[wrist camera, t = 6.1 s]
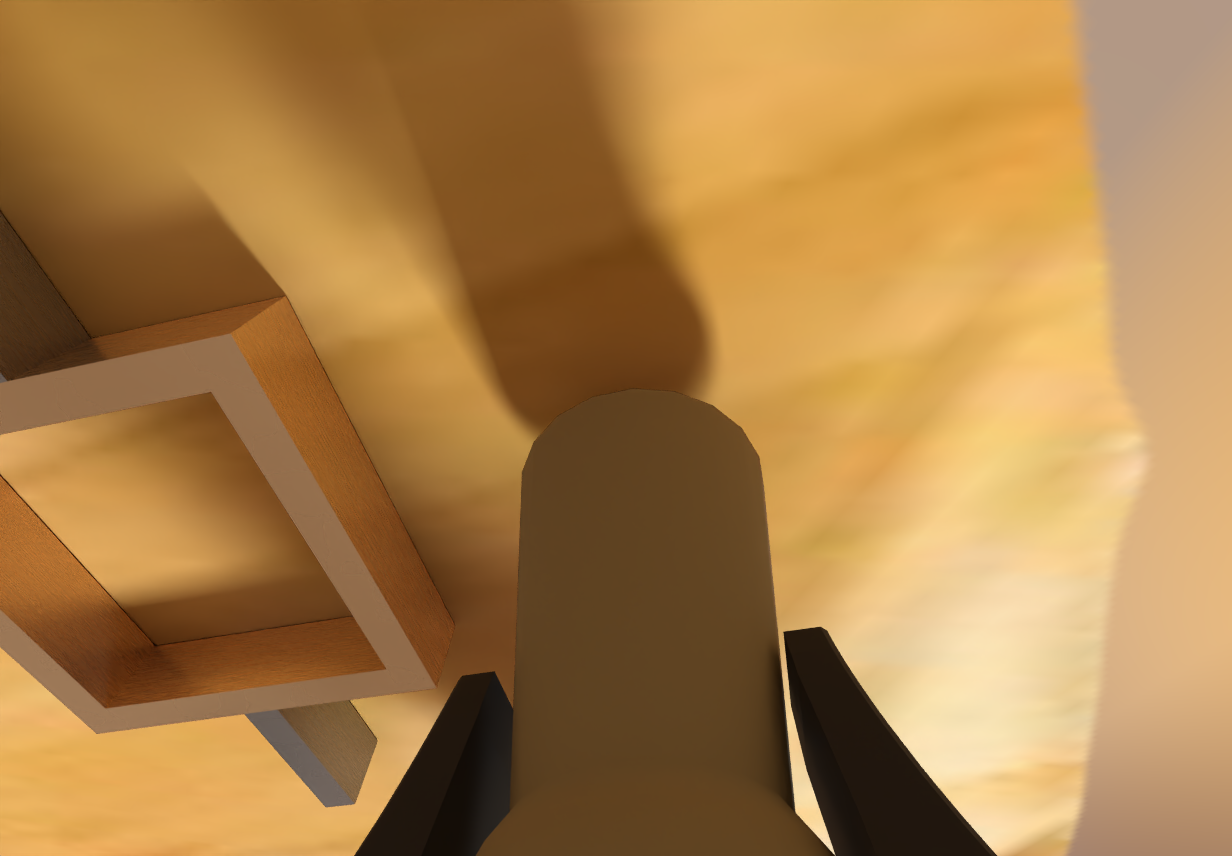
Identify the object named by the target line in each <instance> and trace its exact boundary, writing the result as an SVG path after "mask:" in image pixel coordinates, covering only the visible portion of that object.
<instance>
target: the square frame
mask: <svg viewBox="0 0 1232 856" xmlns="http://www.w3.org/2000/svg"><path fill="white" fill-rule="evenodd" d="M208 392H211V393H212V394H213V396H214V397H215V399H216V400H217V402H218V404H219V405H220V407H221V408H222V410H223V412H224V413H225V415H226V416H227V418H228V419H229V421H230V423H231V424H232V426H233V427H234V429H235V430H236V432H237V434H238V435H239V437H240V438H241V440H242V442H243V443H244V445H245V446H246V448H247V449H248V451H249V453H250V454H251V456H252V457H253V459H254V460H255V462H256V464H257V465H258V467H259V468H260V470H261V472H262V473H263V475H264V476H265V478H266V479H267V481H268V483H269V484H270V486H271V487H272V489H273V490H274V492H275V494H276V495H277V497H278V498H279V500H280V502H281V503H282V505H283V506H284V508H285V509H286V511H287V513H288V514H289V516H290V517H291V519H292V521H293V522H294V524H295V525H296V527H297V528H298V530H299V532H300V533H301V535H302V536H303V538H304V539H305V541H306V543H307V544H308V546H309V547H310V549H311V551H312V552H313V554H314V555H315V557H316V558H317V560H318V562H319V563H320V565H321V566H322V568H323V569H324V571H325V573H326V574H327V576H328V577H329V579H330V581H331V582H332V584H333V585H334V587H335V588H336V590H337V592H338V593H339V595H340V596H341V598H342V599H343V601H344V603H345V604H346V606H347V607H348V609H349V611H350V612H351V614H352V615H353V616H352V617H345V618H339V619H332V620H326V621H319V622H312V623H306V624H299V625H293V626H286V627H279V628H273V629H266V630H260V631H253V632H246V633H240V634H233V635H227V636H220V637H213V638H207V639H200V640H194V641H187V642H180V643H174V644H167V645H161V646H155V645H154V644H153V643H152V642H151V641H150V640H149V639H148V638H147V636H146V635H145V634H144V633H143V632H142V631H141V630H140V629H139V628H138V627H137V626H136V624H135V623H134V622H133V621H132V620H131V619H130V618H129V617H128V616H127V615H126V613H125V612H124V611H123V610H122V609H121V608H120V607H119V606H118V605H117V604H116V602H115V601H114V600H113V599H112V598H111V597H110V596H109V595H108V594H107V593H106V592H105V590H104V589H103V588H102V587H101V586H100V585H99V584H98V583H97V582H96V581H95V579H94V578H93V577H92V576H91V575H90V574H89V573H88V572H87V571H86V570H85V568H84V567H83V566H82V565H81V564H80V563H79V562H78V561H77V560H76V559H75V558H74V556H73V555H72V554H71V553H70V552H69V551H68V550H67V549H66V548H65V547H64V545H63V544H62V543H61V542H60V541H59V540H58V539H57V538H56V537H55V536H54V534H53V533H52V532H51V531H50V530H49V529H48V528H47V527H46V526H45V525H44V523H43V522H42V521H41V520H40V519H39V518H38V517H37V516H36V515H35V514H34V513H33V511H32V510H31V509H30V508H29V507H28V506H27V505H26V504H25V503H24V502H23V500H22V499H21V498H20V497H19V496H18V495H17V494H16V493H15V492H14V491H13V489H12V488H11V487H10V486H9V485H8V484H7V483H6V482H5V481H4V480H3V479H2V477H1V476H0V647H1V648H2V649H3V650H4V651H5V652H6V653H7V654H9V655H10V656H11V657H12V658H13V659H14V660H15V661H16V662H17V663H19V664H20V665H21V666H22V667H23V668H24V669H25V670H26V671H27V672H29V673H30V674H31V675H32V676H33V677H34V678H35V679H36V680H37V681H39V682H40V683H41V684H42V685H43V686H44V687H45V688H46V689H47V690H49V691H50V692H51V693H52V694H53V695H54V696H55V697H56V698H57V699H59V700H60V701H61V702H62V703H63V704H64V705H65V706H66V707H67V708H69V709H70V710H71V711H72V712H73V713H74V714H75V715H76V716H77V717H79V718H80V719H81V720H82V721H83V722H84V723H85V724H86V725H87V726H89V727H90V728H91V729H92V730H93V731H94V732H95V733H96V734H100V733H107V732H115V731H122V730H130V729H137V728H145V727H152V726H159V725H167V724H174V723H182V722H189V721H197V720H204V719H211V718H219V717H226V716H234V715H241V714H245V715H246V716H247V718H248V719H249V720H250V721H251V722H252V723H253V724H254V726H255V727H256V728H257V729H258V730H259V731H260V732H261V734H262V735H263V736H264V737H265V738H266V739H267V741H268V742H269V743H270V744H271V745H272V746H273V747H274V749H275V750H276V751H277V752H278V753H279V754H280V755H281V757H282V758H283V759H284V760H285V761H286V762H287V763H288V765H289V766H290V767H291V768H292V769H293V770H294V771H295V773H296V774H297V775H298V776H299V777H300V778H301V779H302V781H303V782H304V783H305V784H306V785H307V786H308V787H309V789H310V790H311V791H312V792H313V793H314V794H315V795H316V797H317V798H318V799H319V800H320V801H321V802H322V803H323V805H324V806H325V807H334V806H343V805H352V804H355V802H356V800H357V797H358V794H359V791H360V789H361V786H362V783H363V780H364V777H365V775H366V772H367V769H368V766H369V764H370V761H371V758H372V755H373V753H374V750H375V747H376V744H377V739H376V738H375V737H374V735H373V734H372V732H371V731H370V730H369V728H368V727H367V725H366V724H365V723H364V721H363V720H362V718H361V717H360V716H359V714H358V713H357V711H356V710H355V709H354V707H353V706H352V704H351V703H350V702H349V700H353V699H360V698H367V697H375V696H382V695H390V694H397V693H405V692H412V691H419V690H427V689H434V688H437V685H438V682H439V679H440V675H441V672H442V669H443V665H444V662H445V658H446V655H447V652H448V648H449V645H450V642H451V638H452V635H453V631H454V628H455V625H454V623H453V621H452V619H451V617H450V615H449V613H448V611H447V609H446V607H445V605H444V603H443V601H442V599H441V597H440V595H439V594H438V592H437V590H436V588H435V586H434V584H433V582H432V580H431V578H430V576H429V574H428V572H427V570H426V568H425V566H424V564H423V562H422V560H421V558H420V557H419V555H418V553H417V551H416V549H415V547H414V545H413V543H412V541H411V539H410V537H409V535H408V533H407V531H406V529H405V527H404V525H403V523H402V521H401V519H400V518H399V516H398V514H397V512H396V510H395V508H394V506H393V504H392V502H391V500H390V498H389V496H388V494H387V492H386V490H385V488H384V486H383V484H382V482H381V480H380V479H379V477H378V475H377V473H376V471H375V469H374V467H373V465H372V463H371V461H370V459H369V457H368V455H367V453H366V451H365V449H364V447H363V445H362V443H361V442H360V440H359V438H358V436H357V434H356V432H355V430H354V428H353V426H352V424H351V422H350V420H349V418H348V416H347V414H346V412H345V410H344V408H343V406H342V404H341V403H340V401H339V399H338V397H337V395H336V393H335V391H334V389H333V387H332V385H331V383H330V381H329V379H328V377H327V375H326V373H325V371H324V369H323V367H322V366H321V364H320V362H319V360H318V358H317V356H316V354H315V352H314V350H313V348H312V346H311V344H310V342H309V340H308V338H307V336H306V334H305V332H304V330H303V328H302V327H301V325H300V323H299V321H298V319H297V317H296V315H295V313H294V311H293V309H292V307H291V305H290V303H289V301H288V299H287V297H286V296H283V297H278V298H274V299H269V300H265V301H260V302H256V303H251V304H247V305H242V306H237V307H233V308H228V309H224V310H219V311H215V312H210V313H206V314H201V315H197V316H192V317H187V318H183V319H178V320H174V321H169V322H165V323H160V324H156V325H151V326H147V327H142V328H137V329H133V330H128V331H124V332H119V333H115V334H110V335H106V336H101V337H96V338H92V339H91V338H90V337H89V335H88V334H87V333H86V331H85V330H84V328H83V327H82V326H81V324H80V323H79V321H78V320H77V319H76V317H75V316H74V314H73V313H72V312H71V310H70V309H69V307H68V306H67V304H66V303H65V302H64V300H63V299H62V297H61V296H60V295H59V293H58V292H57V290H56V289H55V288H54V286H53V285H52V283H51V282H50V281H49V279H48V278H47V276H46V275H45V274H44V272H43V271H42V269H41V268H40V267H39V265H38V264H37V262H36V261H35V260H34V258H33V257H32V255H31V254H30V253H29V251H28V250H27V248H26V247H25V246H24V244H23V243H22V241H21V240H20V239H19V237H18V236H17V234H16V233H15V232H14V230H13V229H12V227H11V226H10V225H9V223H8V222H7V220H6V219H5V218H4V216H3V215H2V213H1V212H0V435H1V434H6V433H11V432H16V431H21V430H26V429H31V428H35V427H40V426H45V425H50V424H55V423H60V422H65V421H70V420H75V419H80V418H85V417H90V416H95V415H99V414H104V413H109V412H114V411H119V410H124V409H129V408H134V407H139V406H144V405H149V404H154V403H159V402H163V401H168V400H173V399H178V398H183V397H188V396H193V395H198V394H203V393H208Z"/></svg>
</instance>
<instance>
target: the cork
mask: <svg viewBox="0 0 1232 856" xmlns="http://www.w3.org/2000/svg"><path fill="white" fill-rule="evenodd" d="M476 856H835V855H834V854H833V853H832V852H831V851H830V850H829V849H828V847H827V846H826V845H825V844H824V843H823V842H822V841H821V840H820V839H819V838H818V837H817V835H816V834H815V833H814V832H813V831H812V830H811V829H810V828H809V827H808V826H807V825H806V824H805V823H804V822H803V820H802V819H801V818H800V817H799V816H798V815H797V814H796V813H795V803H794V793H793V782H792V772H791V762H790V751H789V741H788V731H787V720H786V710H785V700H784V689H783V679H782V669H781V658H780V648H779V638H778V627H777V617H776V607H775V596H774V586H773V576H772V566H771V555H770V545H769V535H768V524H767V514H766V504H765V493H764V485H763V478H762V471H761V465H760V458H759V456H758V454H757V452H756V451H755V449H754V447H753V446H752V444H751V442H750V441H749V439H748V438H747V436H746V434H745V433H744V431H743V429H742V428H741V427H740V426H738V425H737V424H736V423H735V422H733V421H732V420H731V419H729V418H728V417H727V416H726V415H724V414H723V413H722V412H720V411H719V410H718V409H717V408H715V407H714V406H713V405H710V404H708V403H705V402H702V401H699V400H697V399H694V398H691V397H688V396H686V395H683V394H680V393H678V392H675V391H661V390H646V389H628V390H624V391H619V392H614V393H610V394H605V395H600V396H596V397H592V398H590V399H588V400H586V401H584V402H582V403H581V404H579V405H577V406H575V407H573V408H571V409H570V410H568V411H566V412H564V413H562V414H561V415H559V416H557V417H556V418H555V419H554V421H553V422H552V423H551V424H550V425H549V426H548V427H547V428H546V429H545V430H544V431H543V433H542V434H541V435H540V436H539V437H538V438H537V439H536V440H535V441H534V443H533V445H532V448H531V450H530V453H529V455H528V458H527V460H526V463H525V466H524V468H523V471H522V487H521V514H520V541H519V568H518V595H517V623H516V650H515V677H514V704H513V731H512V758H511V786H510V812H509V813H508V814H507V815H506V817H505V818H504V819H503V820H502V821H501V822H500V823H499V825H498V826H497V827H496V828H495V829H494V830H493V832H492V833H491V834H490V835H489V836H488V837H487V838H486V840H485V841H484V843H483V844H482V846H481V848H480V849H479V851H478V853H477V854H476Z"/></svg>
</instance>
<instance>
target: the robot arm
mask: <svg viewBox="0 0 1232 856" xmlns="http://www.w3.org/2000/svg"><path fill="white" fill-rule="evenodd" d="M784 641H785V651H786V661H787V670H788V680H789V690H790V699H791V707H792V711H793V716H794V720H795V724H796V728H797V732H798V736H799V740H800V745H801V749H802V753H803V757H804V761H805V765H806V769H807V772H808V775H809V778H810V781H811V784H812V787H813V790H814V793H815V796H816V799H817V802H818V805H819V808H820V811H821V814H822V817H823V820H824V823H825V826H826V828H827V831H828V834H829V837H830V840H831V843H832V846H833V849H834V852H835V855H836V856H997V855H996V854H995V853H994V852H993V850H992V849H991V848H990V847H989V846H988V845H987V844H986V843H985V841H984V840H983V839H982V838H981V837H980V836H979V835H978V834H977V832H976V831H975V830H974V829H973V828H972V827H971V825H970V824H969V823H968V822H967V821H966V820H965V819H964V817H963V816H962V815H961V814H960V813H959V812H958V810H957V809H956V808H955V807H954V806H953V804H952V803H951V802H950V801H949V800H948V798H947V797H946V796H945V795H944V794H943V793H942V791H941V790H940V789H939V788H938V787H937V785H936V784H935V783H934V782H933V780H932V779H931V778H930V777H929V776H928V774H927V773H926V772H925V771H924V769H923V768H922V767H921V766H920V764H919V763H918V762H917V761H916V759H915V758H914V757H913V755H912V754H911V753H910V751H909V750H908V749H907V748H906V746H905V745H904V744H903V742H902V741H901V740H900V738H899V737H898V736H897V735H896V733H895V732H894V731H893V729H892V728H891V727H890V725H889V724H888V723H887V722H886V720H885V719H884V717H883V716H882V715H881V713H880V712H879V711H878V709H877V708H876V706H875V705H874V704H873V702H872V701H871V699H870V698H869V696H868V695H867V694H866V692H865V691H864V689H863V688H862V686H861V685H860V683H859V682H858V681H857V679H856V678H855V676H854V674H853V673H852V671H851V670H850V668H849V667H848V665H847V664H846V662H845V661H844V659H843V657H842V656H841V654H840V652H839V651H838V649H837V647H836V646H835V644H834V642H833V641H832V639H831V637H830V635H829V633H828V631H827V630H825V629H823V628H822V627H815V628H808V629H801V630H793V631H786V632H784ZM512 731H513V708H512V706H511V704H510V702H509V700H508V698H507V696H506V694H505V692H504V690H503V688H502V686H501V684H500V682H499V680H498V678H497V675H496V673H495V671H494V672H487V673H480V674H473V675H465V676H462V677H461V678H460V679H459V681H458V683H457V684H456V686H455V688H454V690H453V691H452V693H451V695H450V697H449V699H448V700H447V702H446V704H445V706H444V708H443V709H442V711H441V713H440V715H439V716H438V718H437V720H436V722H435V724H434V725H433V727H432V729H431V731H430V732H429V734H428V736H427V738H426V739H425V741H424V743H423V745H422V746H421V748H420V750H419V752H418V753H417V755H416V757H415V759H414V760H413V762H412V764H411V765H410V767H409V769H408V770H407V772H406V774H405V775H404V777H403V779H402V780H401V782H400V784H399V785H398V787H397V789H396V790H395V792H394V794H393V795H392V797H391V799H390V800H389V802H388V804H387V805H386V807H385V809H384V810H383V812H382V813H381V815H380V817H379V818H378V820H377V821H376V823H375V824H374V826H373V828H372V829H371V831H370V832H369V834H368V835H367V837H366V838H365V840H364V841H363V843H362V844H361V846H360V848H359V849H358V851H357V852H356V854H355V855H354V856H476V854H477V853H478V851H479V849H480V848H481V846H482V844H483V843H484V841H485V840H486V838H487V837H488V836H489V835H490V834H491V833H492V832H493V830H494V829H495V828H496V827H497V826H498V825H499V823H500V822H501V821H502V820H503V819H504V818H505V817H506V815H507V814H508V813H509V812H510V786H511V758H512Z"/></svg>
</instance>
